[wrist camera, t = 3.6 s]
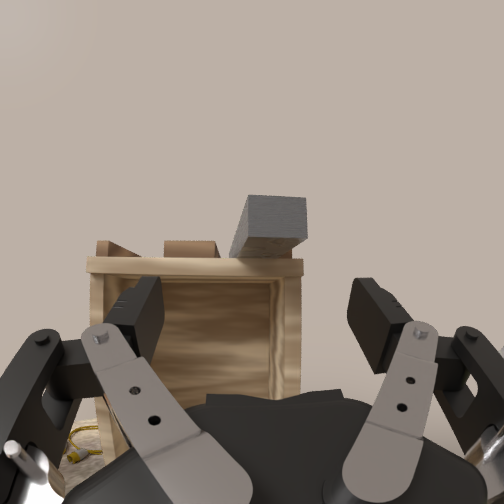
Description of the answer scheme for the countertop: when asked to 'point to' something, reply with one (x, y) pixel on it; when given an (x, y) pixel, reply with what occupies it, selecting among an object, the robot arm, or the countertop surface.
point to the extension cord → (81, 452)
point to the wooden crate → (208, 323)
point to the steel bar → (270, 227)
